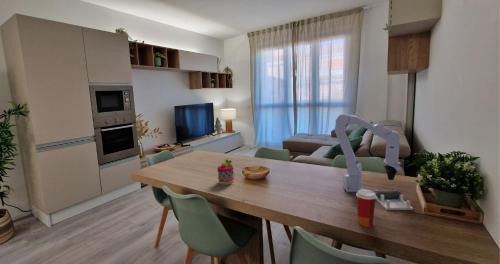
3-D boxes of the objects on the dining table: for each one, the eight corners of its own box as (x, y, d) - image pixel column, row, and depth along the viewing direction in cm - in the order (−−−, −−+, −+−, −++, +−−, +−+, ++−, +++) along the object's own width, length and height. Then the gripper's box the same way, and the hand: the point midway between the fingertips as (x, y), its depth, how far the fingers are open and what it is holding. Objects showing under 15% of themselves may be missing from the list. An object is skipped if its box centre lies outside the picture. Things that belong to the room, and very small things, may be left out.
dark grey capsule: (377, 199, 120) (378, 193, 120) (374, 196, 124) (375, 189, 123) (402, 199, 119) (403, 192, 119) (398, 195, 123) (399, 189, 122)
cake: (230, 186, 150) (229, 163, 148) (215, 185, 154) (213, 162, 151) (236, 180, 160) (235, 158, 157) (222, 179, 163) (220, 158, 161)
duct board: (386, 210, 112) (386, 202, 111) (372, 196, 127) (372, 189, 126) (413, 209, 111) (413, 201, 110) (396, 196, 126) (396, 188, 125)
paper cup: (369, 218, 106) (370, 188, 103) (379, 227, 98) (380, 195, 96) (351, 219, 105) (352, 189, 103) (360, 228, 98) (361, 196, 96)
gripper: (408, 158, 115) (406, 184, 117) (393, 150, 129) (391, 174, 131) (392, 158, 116) (391, 184, 118) (379, 151, 130) (378, 174, 132)
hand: (390, 179), depth 125 cm, fingers closed
